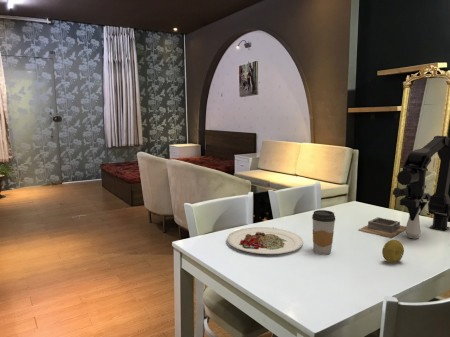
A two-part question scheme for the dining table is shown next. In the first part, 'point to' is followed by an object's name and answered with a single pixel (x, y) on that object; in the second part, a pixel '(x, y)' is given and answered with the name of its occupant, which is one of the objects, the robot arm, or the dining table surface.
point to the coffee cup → (323, 231)
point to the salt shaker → (413, 227)
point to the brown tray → (383, 227)
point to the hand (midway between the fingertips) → (413, 219)
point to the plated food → (265, 240)
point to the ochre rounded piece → (393, 251)
